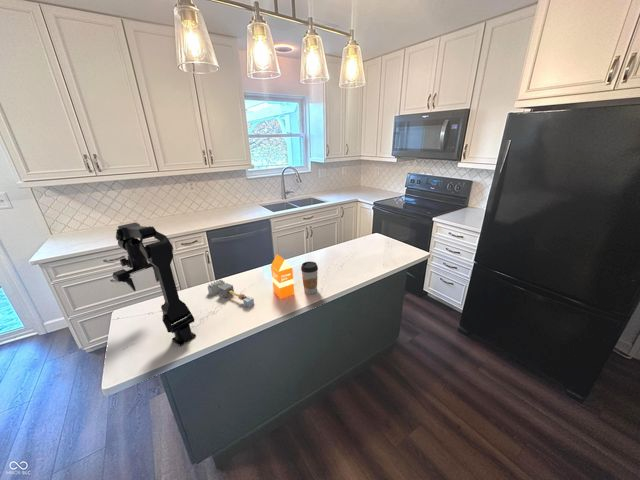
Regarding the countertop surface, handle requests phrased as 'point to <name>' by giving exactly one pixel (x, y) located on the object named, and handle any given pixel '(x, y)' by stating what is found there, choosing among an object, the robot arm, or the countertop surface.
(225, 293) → the sleeve
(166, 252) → the robot arm
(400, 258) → the countertop surface
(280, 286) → the orange juice
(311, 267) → the coffee cup
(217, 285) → the cord rig
